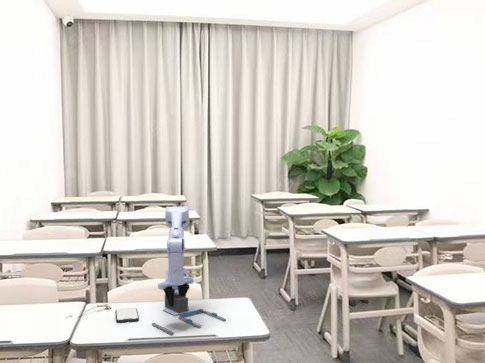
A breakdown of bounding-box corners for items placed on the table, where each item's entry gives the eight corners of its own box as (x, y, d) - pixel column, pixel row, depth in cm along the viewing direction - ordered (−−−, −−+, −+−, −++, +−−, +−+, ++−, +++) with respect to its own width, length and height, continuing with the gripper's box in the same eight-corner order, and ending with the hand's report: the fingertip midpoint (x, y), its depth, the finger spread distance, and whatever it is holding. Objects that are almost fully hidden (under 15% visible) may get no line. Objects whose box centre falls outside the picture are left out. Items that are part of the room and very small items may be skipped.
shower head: (67, 327, 199) (114, 313, 211) (67, 320, 198) (115, 306, 210) (63, 320, 203) (109, 306, 215) (62, 313, 202) (109, 299, 213)
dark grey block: (165, 306, 192) (165, 294, 192) (174, 305, 195) (173, 292, 195) (179, 313, 185) (179, 300, 184) (188, 311, 187) (188, 298, 187)
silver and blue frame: (150, 324, 192) (150, 320, 192) (203, 311, 208) (203, 308, 208) (171, 335, 181) (171, 331, 180) (226, 320, 197) (226, 317, 196)
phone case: (115, 312, 209) (116, 324, 193) (115, 308, 209) (116, 320, 193) (136, 311, 211) (139, 322, 196) (136, 307, 211) (139, 318, 196)
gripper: (164, 274, 181) (165, 311, 182) (197, 268, 191) (197, 303, 191) (155, 270, 187) (155, 306, 187) (187, 265, 196) (187, 299, 197)
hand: (176, 304), depth 190 cm, fingers closed on dark grey block, 4 cm apart
